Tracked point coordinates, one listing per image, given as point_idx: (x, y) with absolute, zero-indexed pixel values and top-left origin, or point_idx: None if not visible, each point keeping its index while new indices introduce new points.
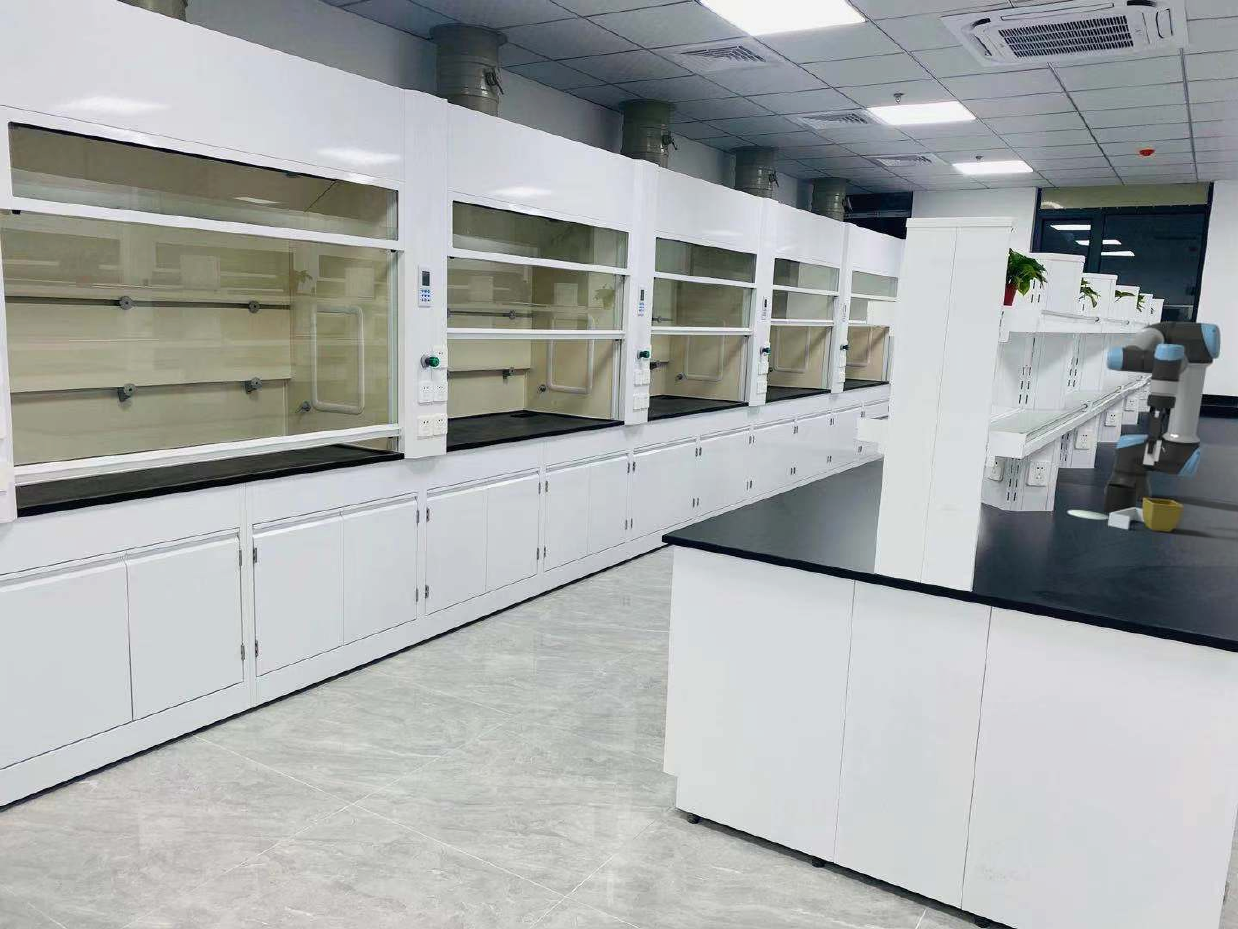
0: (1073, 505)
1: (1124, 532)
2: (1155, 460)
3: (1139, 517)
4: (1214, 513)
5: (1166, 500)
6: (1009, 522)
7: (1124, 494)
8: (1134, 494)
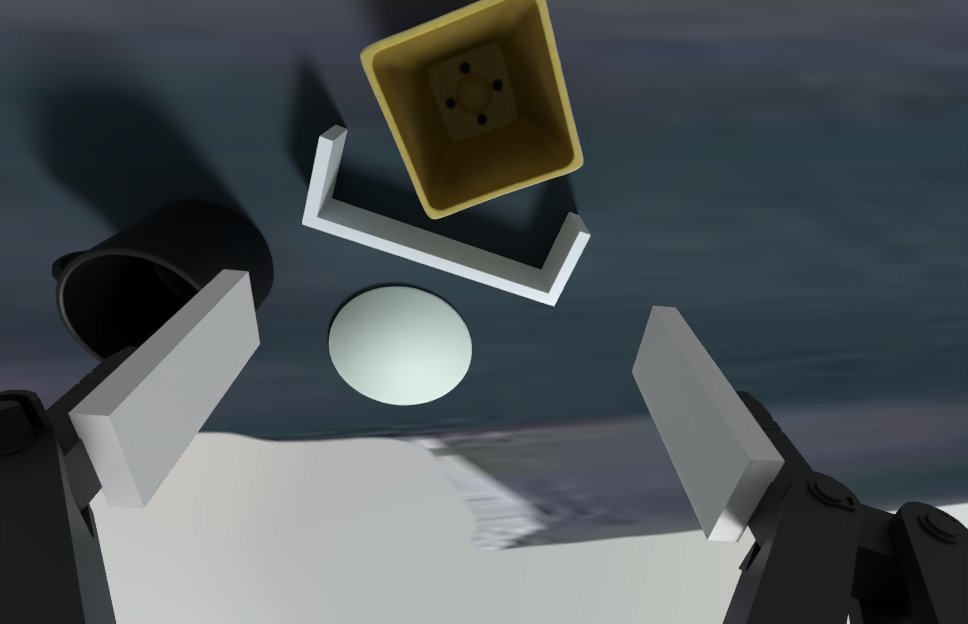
0: (244, 399)
1: (645, 222)
2: (247, 294)
3: (333, 181)
4: None
5: (383, 90)
6: None
7: None
8: (184, 251)
